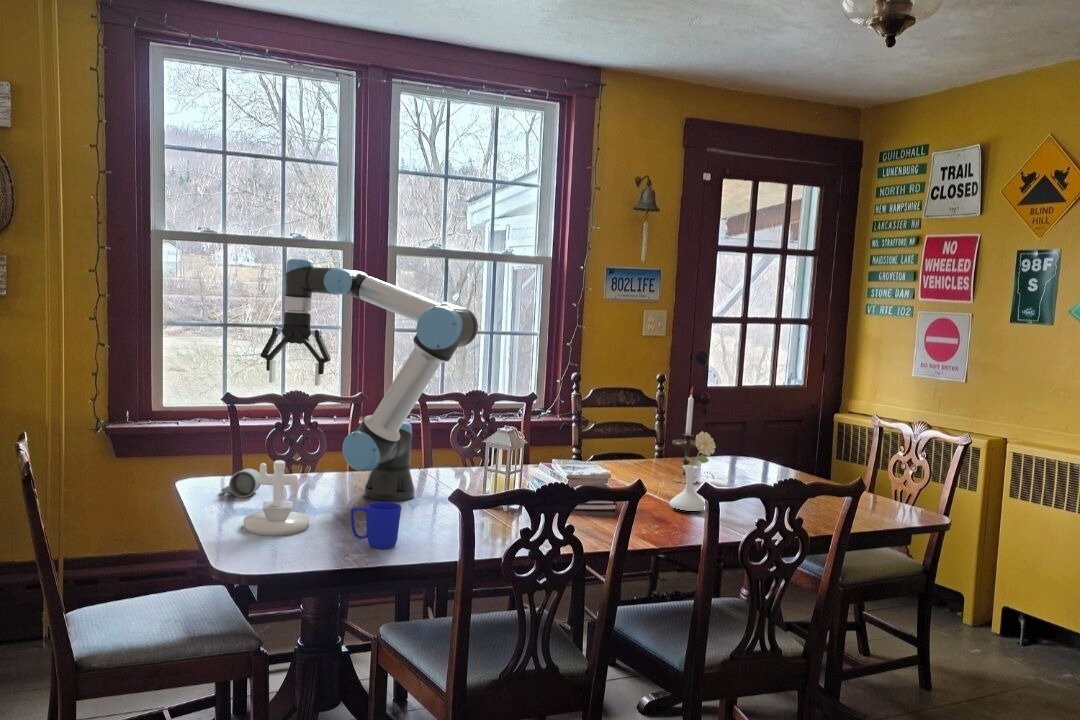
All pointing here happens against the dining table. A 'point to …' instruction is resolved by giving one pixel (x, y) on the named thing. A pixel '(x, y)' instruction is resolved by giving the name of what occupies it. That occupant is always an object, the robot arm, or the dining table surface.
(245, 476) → the ceramic mug
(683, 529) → the dining table surface
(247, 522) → the disc
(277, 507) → the figurine
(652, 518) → the dining table surface
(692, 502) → the flower in vase
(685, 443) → the candlestick
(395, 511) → the mug
